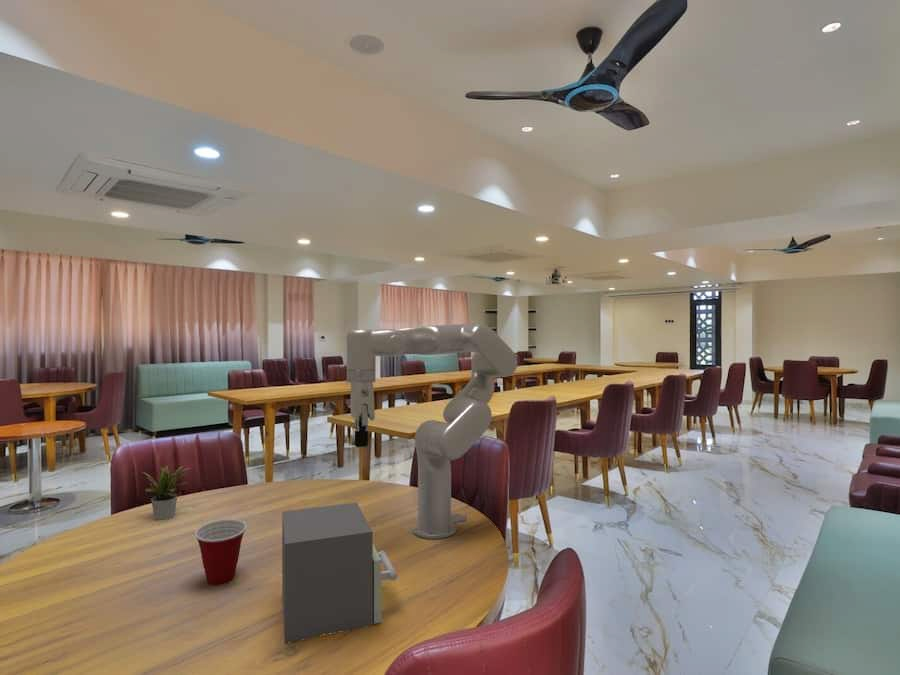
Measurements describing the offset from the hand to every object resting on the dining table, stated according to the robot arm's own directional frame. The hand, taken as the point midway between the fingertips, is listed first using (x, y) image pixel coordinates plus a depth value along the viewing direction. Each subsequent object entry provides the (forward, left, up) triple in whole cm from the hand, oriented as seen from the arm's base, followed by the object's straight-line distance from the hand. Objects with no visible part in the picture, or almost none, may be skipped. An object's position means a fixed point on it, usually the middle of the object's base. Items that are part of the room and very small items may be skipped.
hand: (361, 446), depth 127 cm
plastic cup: (+33, +5, -27) cm, 43 cm away
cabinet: (+12, +26, -27) cm, 39 cm away
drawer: (+8, +26, -27) cm, 38 cm away
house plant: (+52, -44, -27) cm, 73 cm away
